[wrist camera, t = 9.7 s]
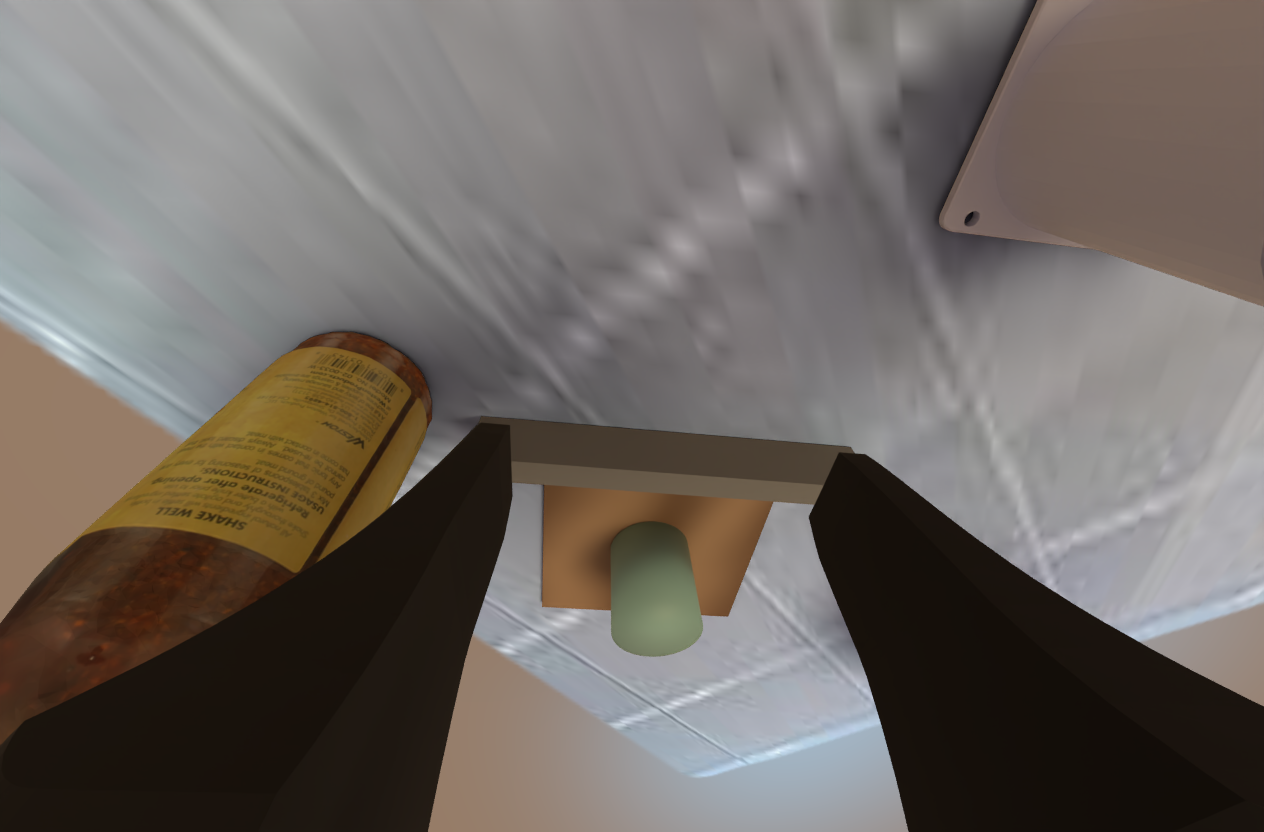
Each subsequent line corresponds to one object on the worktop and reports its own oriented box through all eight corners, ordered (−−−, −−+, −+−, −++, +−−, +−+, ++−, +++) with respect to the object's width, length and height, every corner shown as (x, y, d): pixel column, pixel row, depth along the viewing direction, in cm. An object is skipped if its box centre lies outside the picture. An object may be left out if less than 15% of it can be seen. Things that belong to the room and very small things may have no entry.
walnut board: (779, 474, 25) (782, 479, 24) (726, 611, 31) (727, 616, 31) (545, 456, 24) (544, 461, 23) (543, 601, 30) (542, 606, 30)
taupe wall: (850, 447, 24) (877, 489, 21) (842, 465, 24) (867, 508, 22) (481, 416, 22) (463, 457, 20) (483, 436, 23) (466, 479, 20)
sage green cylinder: (681, 515, 26) (696, 595, 21) (692, 567, 28) (708, 648, 24) (602, 529, 26) (601, 611, 22) (620, 580, 28) (622, 662, 24)
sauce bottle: (260, 344, 20) (-1409, 1530, 4) (395, 307, 19) (-950, 1617, 3) (350, 460, 24) (-267, 1310, 7) (467, 433, 23) (71, 1321, 6)
